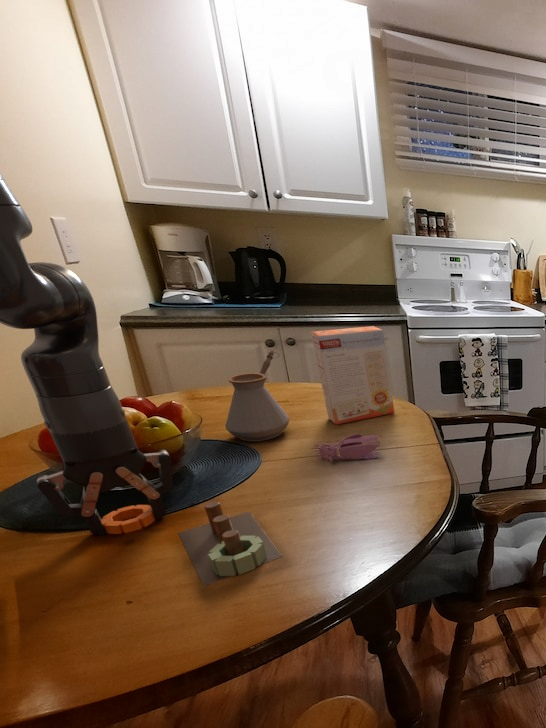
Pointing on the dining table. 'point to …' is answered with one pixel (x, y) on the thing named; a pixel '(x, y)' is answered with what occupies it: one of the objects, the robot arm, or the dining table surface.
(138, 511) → the orange grooved ring
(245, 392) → the coffee pot
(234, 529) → the rack
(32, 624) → the dining table surface
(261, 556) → the green ring
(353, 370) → the cracker box
